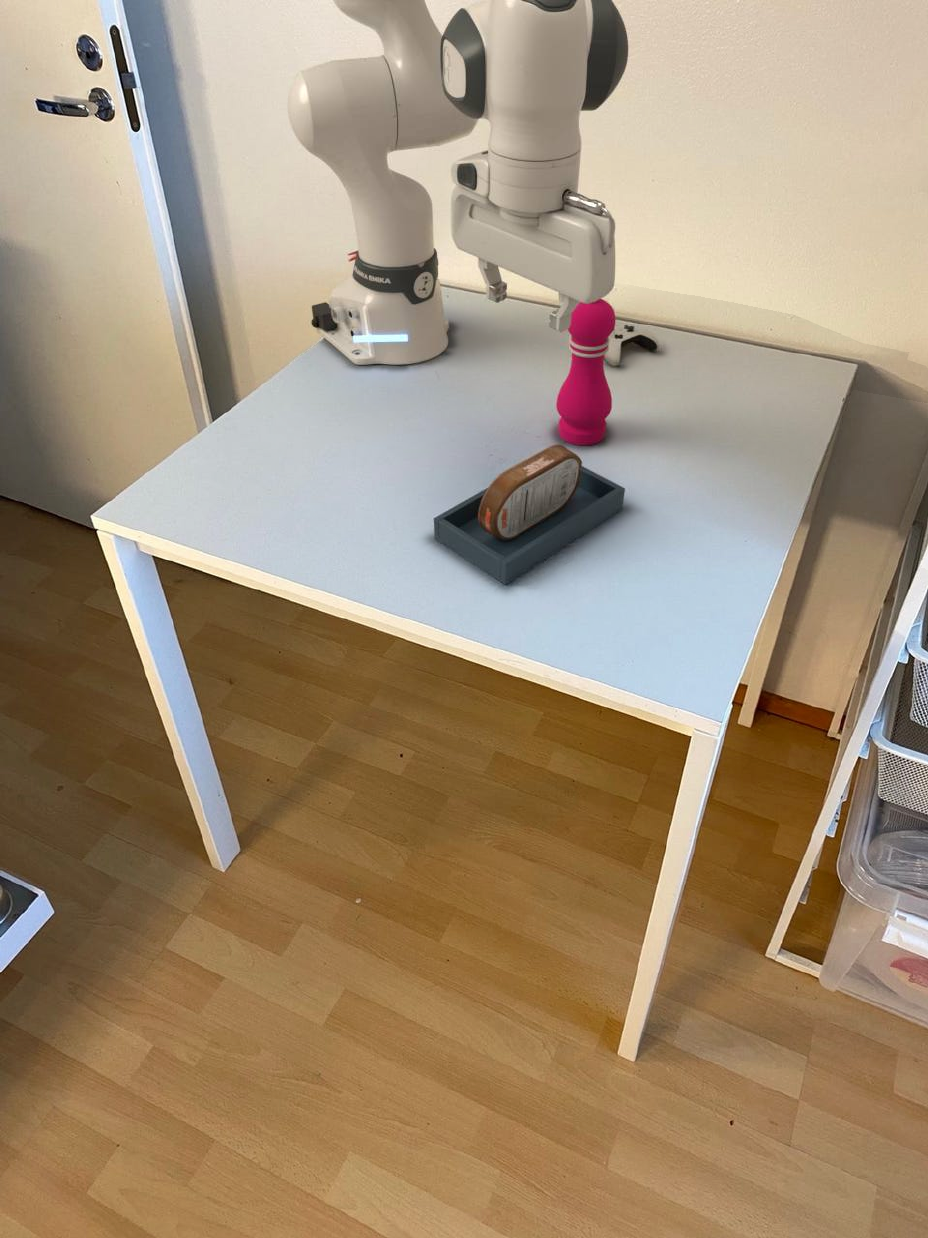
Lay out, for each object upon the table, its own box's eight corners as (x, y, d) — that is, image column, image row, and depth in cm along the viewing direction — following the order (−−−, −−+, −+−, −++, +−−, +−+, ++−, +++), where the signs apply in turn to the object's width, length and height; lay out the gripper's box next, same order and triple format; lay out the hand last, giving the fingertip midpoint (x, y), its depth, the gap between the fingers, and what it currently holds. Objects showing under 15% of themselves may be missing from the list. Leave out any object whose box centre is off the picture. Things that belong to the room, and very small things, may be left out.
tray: (434, 538, 106) (433, 518, 104) (551, 470, 116) (552, 450, 114) (505, 585, 100) (505, 564, 98) (622, 508, 110) (625, 488, 108)
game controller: (617, 364, 134) (599, 327, 134) (597, 378, 139) (580, 342, 139) (663, 345, 138) (646, 309, 138) (642, 359, 143) (626, 324, 143)
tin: (564, 490, 112) (568, 430, 106) (583, 501, 110) (589, 441, 104) (475, 543, 104) (475, 482, 99) (495, 556, 103) (495, 494, 97)
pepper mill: (546, 439, 121) (553, 293, 108) (567, 414, 126) (577, 271, 112) (596, 452, 119) (611, 304, 105) (616, 426, 123) (632, 281, 110)
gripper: (638, 198, 84) (621, 337, 94) (484, 146, 95) (483, 275, 105) (593, 216, 81) (580, 358, 91) (439, 160, 92) (442, 292, 102)
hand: (527, 313), depth 98 cm, fingers open, 8 cm apart
